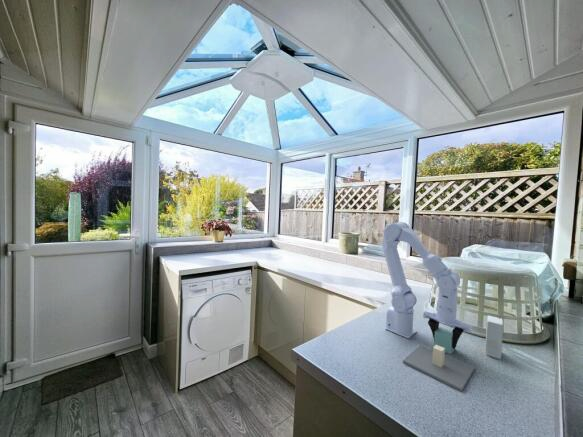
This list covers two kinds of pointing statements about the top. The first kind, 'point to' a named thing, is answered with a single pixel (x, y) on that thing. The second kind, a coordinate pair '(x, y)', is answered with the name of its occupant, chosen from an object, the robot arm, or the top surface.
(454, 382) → the post board
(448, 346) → the mint green cube
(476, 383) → the top surface
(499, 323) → the skincare box
